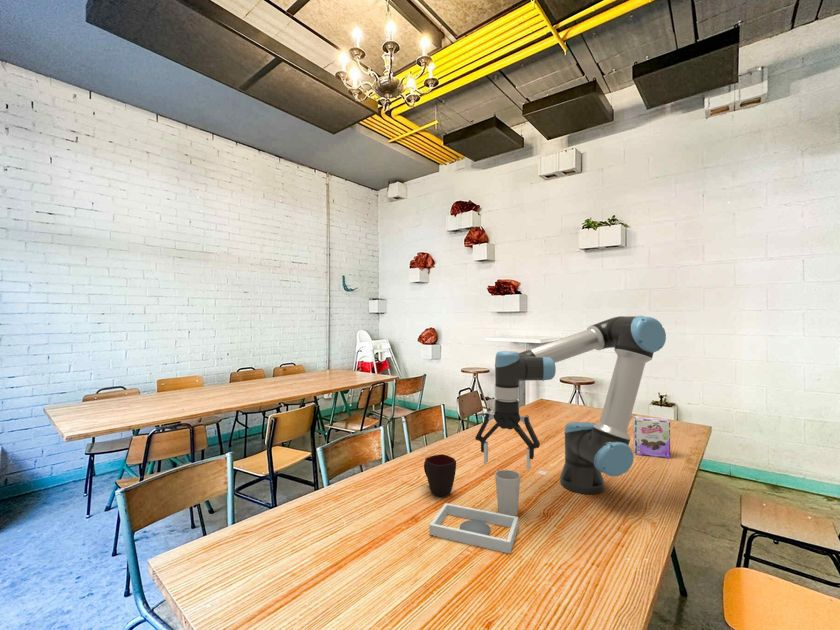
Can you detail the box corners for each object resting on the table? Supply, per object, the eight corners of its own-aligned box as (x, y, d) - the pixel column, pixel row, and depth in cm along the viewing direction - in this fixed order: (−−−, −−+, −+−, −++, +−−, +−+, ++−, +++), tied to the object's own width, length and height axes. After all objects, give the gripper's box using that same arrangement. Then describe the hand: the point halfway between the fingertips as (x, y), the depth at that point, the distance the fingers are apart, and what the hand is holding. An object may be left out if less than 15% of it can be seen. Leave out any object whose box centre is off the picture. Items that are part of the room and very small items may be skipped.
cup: (521, 519, 120) (521, 480, 120) (495, 516, 121) (494, 478, 121) (519, 506, 127) (519, 470, 127) (495, 504, 129) (495, 468, 129)
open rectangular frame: (518, 527, 115) (518, 517, 115) (510, 553, 102) (510, 542, 102) (445, 512, 124) (445, 503, 124) (429, 535, 111) (429, 524, 111)
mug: (437, 502, 130) (437, 467, 131) (415, 487, 142) (415, 455, 142) (460, 495, 136) (460, 461, 136) (437, 481, 148) (436, 449, 148)
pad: (493, 525, 116) (493, 523, 116) (486, 541, 108) (486, 539, 108) (464, 519, 120) (464, 517, 120) (455, 534, 111) (455, 532, 111)
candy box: (635, 454, 174) (634, 418, 175) (633, 450, 180) (632, 415, 180) (670, 459, 169) (670, 421, 169) (667, 454, 175) (667, 418, 175)
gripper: (548, 400, 123) (548, 467, 123) (472, 394, 133) (472, 455, 133) (546, 405, 116) (546, 476, 116) (466, 398, 126) (466, 463, 126)
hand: (506, 465), depth 124 cm, fingers open, 13 cm apart
